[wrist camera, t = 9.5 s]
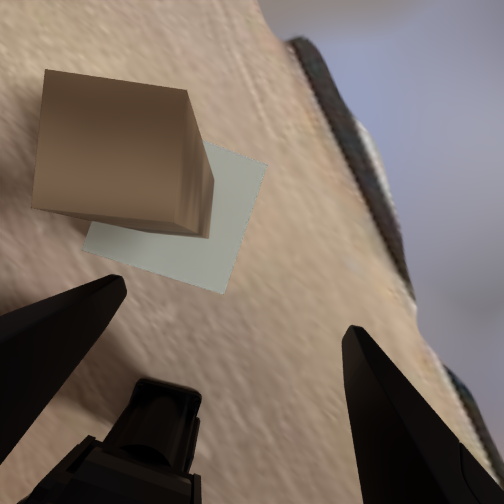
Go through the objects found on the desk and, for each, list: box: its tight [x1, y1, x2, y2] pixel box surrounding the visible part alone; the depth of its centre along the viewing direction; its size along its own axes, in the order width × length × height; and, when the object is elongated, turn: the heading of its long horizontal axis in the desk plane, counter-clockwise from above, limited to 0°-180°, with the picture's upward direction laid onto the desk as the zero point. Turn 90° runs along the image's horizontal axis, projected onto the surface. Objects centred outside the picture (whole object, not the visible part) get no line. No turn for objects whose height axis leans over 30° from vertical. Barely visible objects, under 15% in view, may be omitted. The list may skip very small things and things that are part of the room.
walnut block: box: [31, 69, 215, 239], centre depth 13 cm, size 5×5×10 cm
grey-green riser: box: [82, 140, 267, 295], centre depth 20 cm, size 12×12×4 cm
